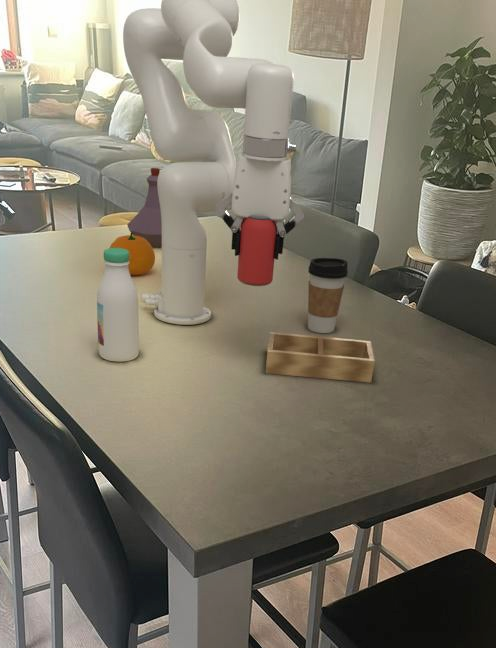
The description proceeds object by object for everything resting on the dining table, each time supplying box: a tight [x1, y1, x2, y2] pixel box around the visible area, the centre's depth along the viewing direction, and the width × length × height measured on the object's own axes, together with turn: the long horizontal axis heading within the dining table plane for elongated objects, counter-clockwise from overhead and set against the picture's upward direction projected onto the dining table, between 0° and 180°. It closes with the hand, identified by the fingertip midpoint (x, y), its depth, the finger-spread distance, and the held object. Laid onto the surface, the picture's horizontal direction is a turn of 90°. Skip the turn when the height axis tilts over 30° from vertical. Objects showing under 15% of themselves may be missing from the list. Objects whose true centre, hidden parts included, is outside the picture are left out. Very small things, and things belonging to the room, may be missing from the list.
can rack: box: [265, 331, 376, 384], centre depth 152 cm, size 20×11×4 cm, turn 87°
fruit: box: [109, 232, 156, 276], centre depth 195 cm, size 12×12×10 cm
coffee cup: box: [307, 257, 349, 334], centre depth 168 cm, size 8×8×15 cm
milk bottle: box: [96, 247, 140, 363], centre depth 145 cm, size 8×8×20 cm
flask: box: [127, 167, 162, 248], centre depth 218 cm, size 16×16×20 cm
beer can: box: [236, 216, 278, 287], centre depth 140 cm, size 7×7×12 cm
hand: (256, 254), depth 140 cm, fingers closed on beer can, 6 cm apart
